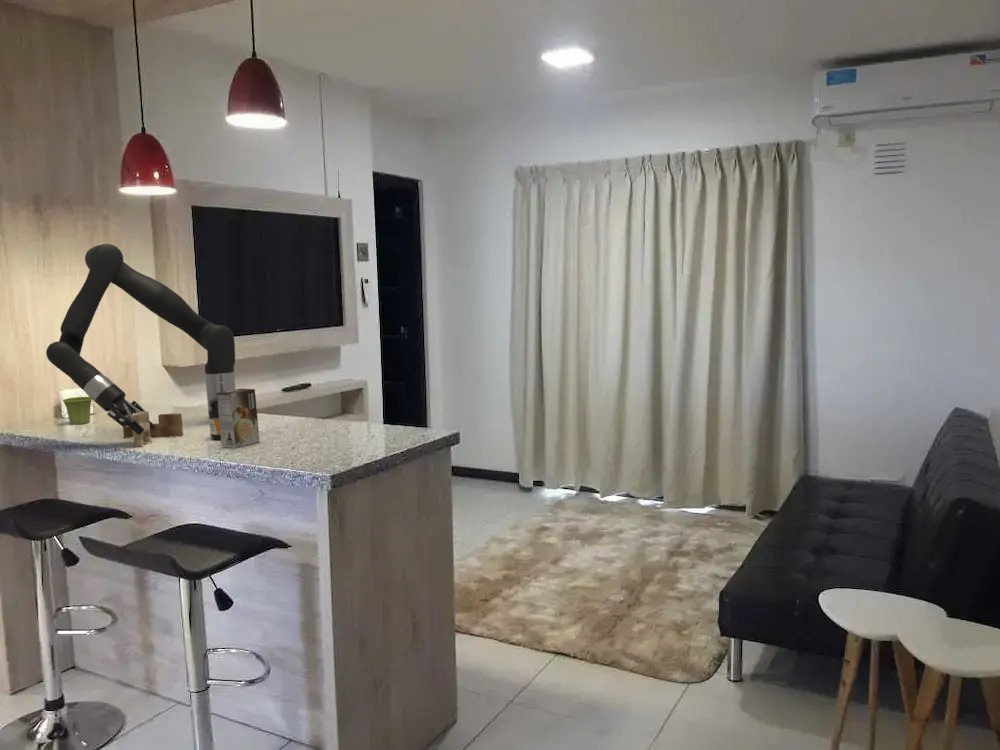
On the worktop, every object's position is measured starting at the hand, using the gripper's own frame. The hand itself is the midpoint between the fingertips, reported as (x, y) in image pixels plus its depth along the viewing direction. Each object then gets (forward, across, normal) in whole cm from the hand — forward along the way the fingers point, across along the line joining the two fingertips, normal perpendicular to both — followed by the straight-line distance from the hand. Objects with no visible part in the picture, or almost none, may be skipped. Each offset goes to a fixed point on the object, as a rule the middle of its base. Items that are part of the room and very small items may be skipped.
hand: (147, 430), depth 244 cm
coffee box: (+24, -4, -18) cm, 30 cm away
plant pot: (-28, +40, +34) cm, 60 cm away
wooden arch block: (+2, 0, +4) cm, 5 cm away
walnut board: (0, +12, +6) cm, 13 cm away
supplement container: (+18, +8, -12) cm, 23 cm away
